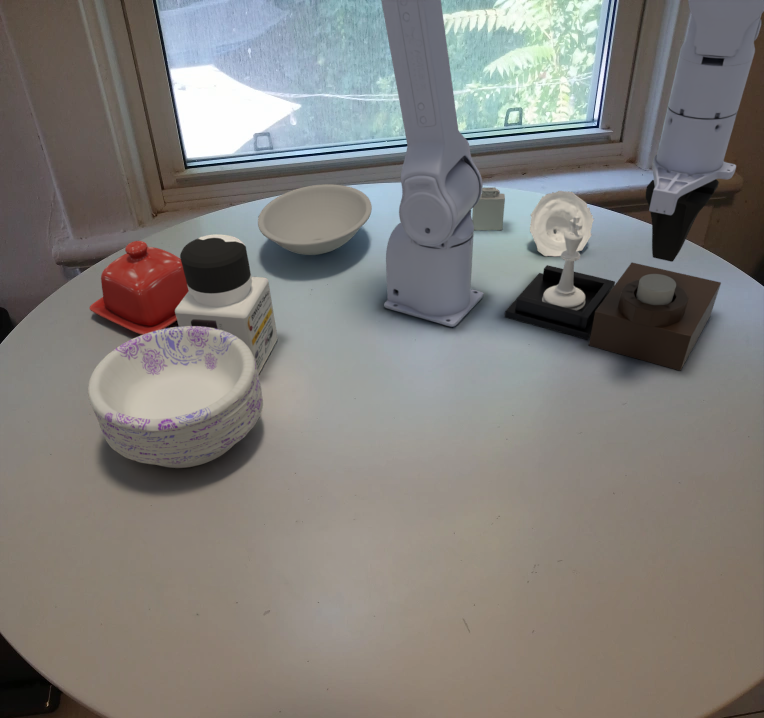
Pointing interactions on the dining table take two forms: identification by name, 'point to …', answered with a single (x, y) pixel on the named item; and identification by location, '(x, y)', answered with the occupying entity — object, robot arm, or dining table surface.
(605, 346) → the brown push button box
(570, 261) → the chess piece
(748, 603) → the dining table surface
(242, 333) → the container
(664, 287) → the button
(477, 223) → the lighter
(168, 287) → the butter dish
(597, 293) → the pan
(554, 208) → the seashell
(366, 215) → the dish
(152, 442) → the paper bowls
